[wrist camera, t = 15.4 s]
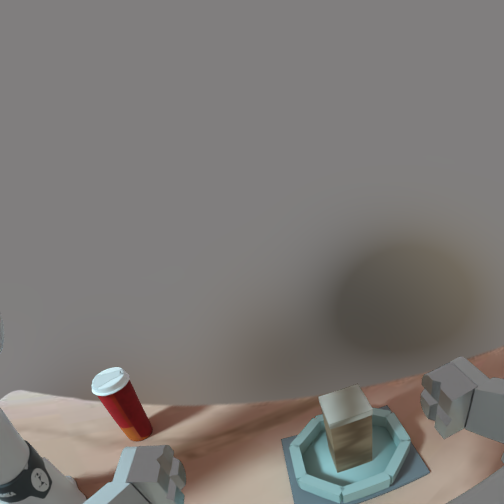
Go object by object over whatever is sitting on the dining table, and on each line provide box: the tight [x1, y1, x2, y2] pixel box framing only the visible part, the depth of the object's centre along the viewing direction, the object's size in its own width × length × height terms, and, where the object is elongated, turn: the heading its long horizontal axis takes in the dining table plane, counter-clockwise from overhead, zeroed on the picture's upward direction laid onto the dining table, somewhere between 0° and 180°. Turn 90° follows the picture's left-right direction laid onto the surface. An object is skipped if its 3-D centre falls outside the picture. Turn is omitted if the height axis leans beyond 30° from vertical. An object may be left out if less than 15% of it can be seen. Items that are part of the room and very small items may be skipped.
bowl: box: [289, 408, 411, 503], centre depth 35 cm, size 16×16×3 cm
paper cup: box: [92, 367, 152, 441], centre depth 49 cm, size 8×8×14 cm
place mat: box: [281, 405, 430, 504], centre depth 35 cm, size 18×16×1 cm
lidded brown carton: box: [318, 384, 373, 473], centre depth 33 cm, size 5×5×11 cm
